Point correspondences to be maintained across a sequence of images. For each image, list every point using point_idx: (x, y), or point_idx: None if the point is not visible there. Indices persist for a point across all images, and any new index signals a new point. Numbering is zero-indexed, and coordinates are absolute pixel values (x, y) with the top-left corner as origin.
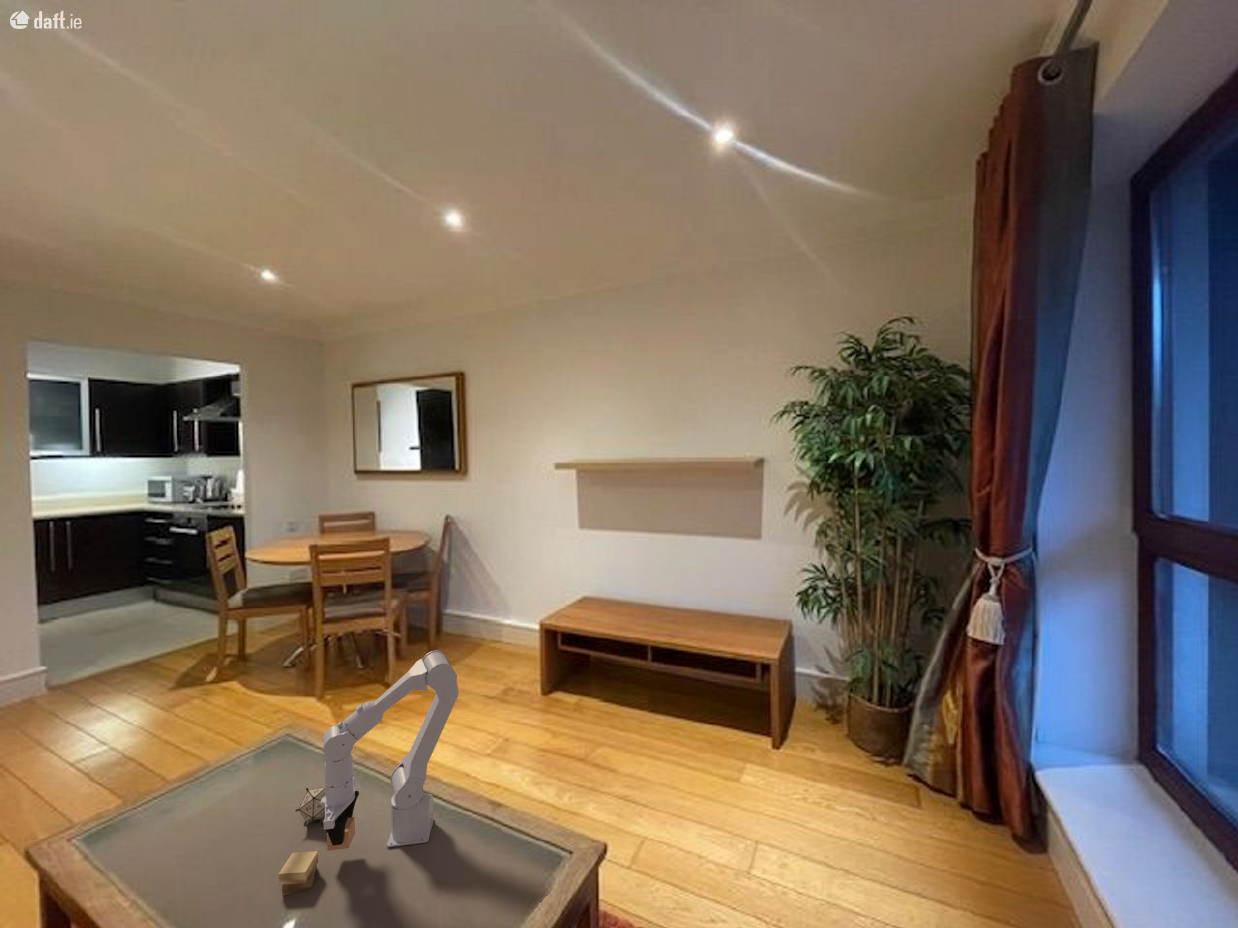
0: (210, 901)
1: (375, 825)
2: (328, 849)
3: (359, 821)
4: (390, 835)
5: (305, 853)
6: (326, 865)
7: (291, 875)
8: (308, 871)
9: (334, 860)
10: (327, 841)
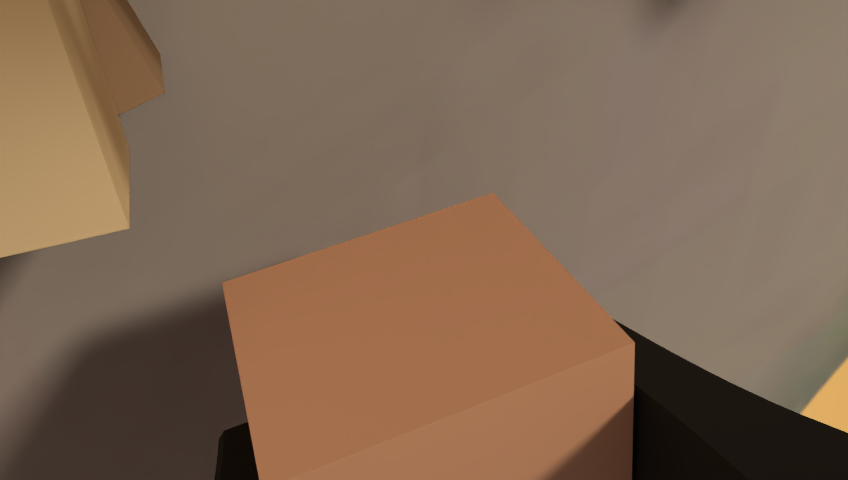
0: None
1: (674, 271)
2: (230, 300)
3: (754, 110)
4: None
5: (18, 35)
6: (212, 147)
7: None
8: None
9: (289, 186)
10: (241, 382)
